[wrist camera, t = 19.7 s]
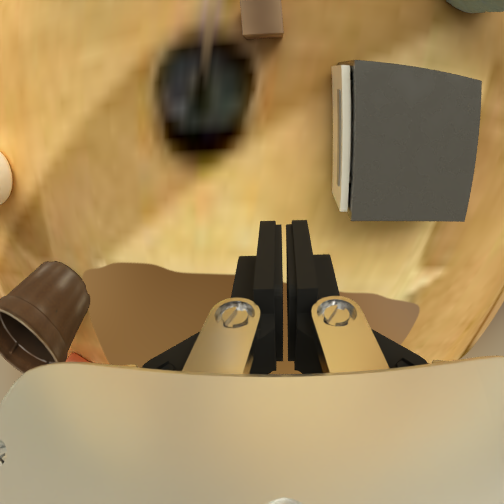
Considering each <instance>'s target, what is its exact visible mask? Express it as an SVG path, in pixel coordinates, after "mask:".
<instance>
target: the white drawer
mask: <svg viewBox="0 0 504 504" xmlns="http://www.w3.org/2000/svg"><path fill="white" fill-rule="evenodd" d="M332 96H333V173H332V194H333V196H334V199H335V201H336V203H337V206H338V208H339V211H340V212H347V209H348V193H349V183H351V178H352V152H353V80H350V65H337V66H332Z"/></svg>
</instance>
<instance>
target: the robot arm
mask: <svg viewBox="0 0 504 504" xmlns="http://www.w3.org/2000/svg"><path fill="white" fill-rule="evenodd" d="M286 246H287V313H288V315H287V316H288V361H294V363H295V370H298V371H300V372H301V373H302V374H269V373H271V372H272V371H276V361H283V275H282V230H281V225H276V222H275V221H260V230H259V239H258V248H257V256H240V257H239V259H238V264H237V269H236V274H235V279H234V284H233V290H232V295H231V298H230V299H226V300H223V301H221V302H219V303H217V304H216V305H215V306H214V307H213V308H212V309H211V311H210V313H209V315H208V317H207V319H206V322H205V323H204V325H203V327H202V329H201V331H200V332H198V333H197V334H195V335H193V336H191V337H190V338H188V339H186V340H184V341H183V342H181V343H179V344H177V345H176V346H174V347H172V348H170V349H169V350H167V351H165V352H163V353H162V354H160V355H158V356H156V357H154V358H153V359H151V360H149V361H148V362H147V363H145V364H144V365H143V367H140V368H138V367H137V365H136V364H132V365H110V364H100V363H90V362H56V363H51V364H46V365H41V366H38V367H35V368H33V369H30V370H28V371H27V372H25V373H24V374H23V375H21V376H20V377H19V378H18V379H17V381H16V382H15V383H14V384H13V385H12V387H11V388H10V390H9V391H8V393H7V394H6V396H5V397H4V399H3V400H2V402H1V404H0V504H504V356H485V357H476V358H469V359H461V360H453V361H440V360H433V362H432V364H428V363H427V362H426V360H424V359H423V358H422V357H420V356H419V355H417V354H415V353H413V352H412V351H410V350H408V349H406V348H404V347H403V346H401V345H399V344H397V343H395V342H394V341H392V340H390V339H388V338H386V337H385V336H383V335H381V334H379V333H378V332H376V331H374V330H372V329H371V328H370V326H369V324H368V322H367V320H366V318H365V316H364V314H363V312H362V310H361V308H360V307H359V305H358V304H357V303H355V302H354V301H353V300H351V299H349V298H346V297H341V296H340V295H339V291H338V286H337V282H336V278H335V273H334V269H333V265H332V261H331V257H330V255H329V254H328V255H313V252H312V246H311V241H310V235H309V229H308V224H307V220H292V224H288V225H286Z"/></svg>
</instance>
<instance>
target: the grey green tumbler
mask: <svg viewBox="0 0 504 504" xmlns="http://www.w3.org/2000/svg"><path fill="white" fill-rule="evenodd" d="M446 1H447V2H448V3H450V4H451V5H452V6H454V7H455V8H457V9H459V10H461V11H464V12H467V13H483V12H485V11H487V12H503V11H504V0H446Z"/></svg>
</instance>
